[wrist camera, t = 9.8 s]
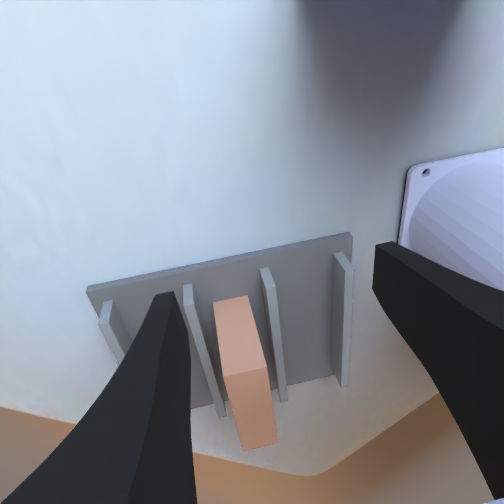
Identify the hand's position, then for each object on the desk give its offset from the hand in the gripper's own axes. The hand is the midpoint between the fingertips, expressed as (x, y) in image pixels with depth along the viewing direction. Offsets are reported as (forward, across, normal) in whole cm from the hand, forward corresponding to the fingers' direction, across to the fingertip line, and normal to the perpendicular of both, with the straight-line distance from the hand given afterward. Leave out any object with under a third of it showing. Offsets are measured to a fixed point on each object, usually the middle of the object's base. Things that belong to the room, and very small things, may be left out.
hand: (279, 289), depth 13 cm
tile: (+9, +2, +12) cm, 15 cm away
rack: (+9, +2, +12) cm, 15 cm away
